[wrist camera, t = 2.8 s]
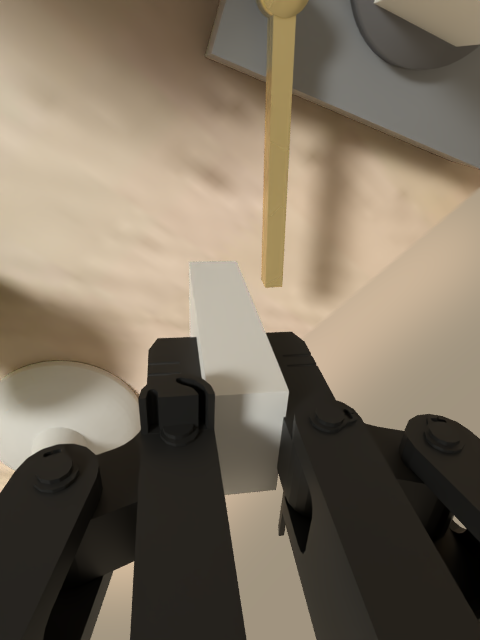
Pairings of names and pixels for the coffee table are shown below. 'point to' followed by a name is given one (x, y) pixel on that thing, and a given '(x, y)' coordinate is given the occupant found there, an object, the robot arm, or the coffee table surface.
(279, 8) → the tan long thin stick
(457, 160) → the socket
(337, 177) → the coffee table surface
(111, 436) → the candlestick
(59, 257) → the coffee table surface
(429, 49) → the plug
